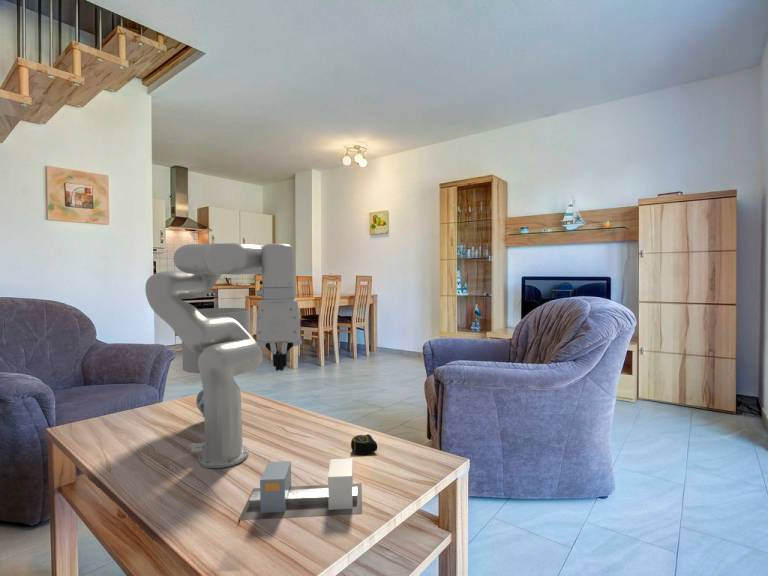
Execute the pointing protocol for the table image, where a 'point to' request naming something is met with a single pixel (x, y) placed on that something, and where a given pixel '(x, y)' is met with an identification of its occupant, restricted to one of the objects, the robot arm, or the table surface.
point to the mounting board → (302, 507)
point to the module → (275, 486)
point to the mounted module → (340, 484)
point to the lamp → (192, 358)
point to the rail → (301, 497)
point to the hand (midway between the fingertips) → (280, 369)
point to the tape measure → (363, 444)
